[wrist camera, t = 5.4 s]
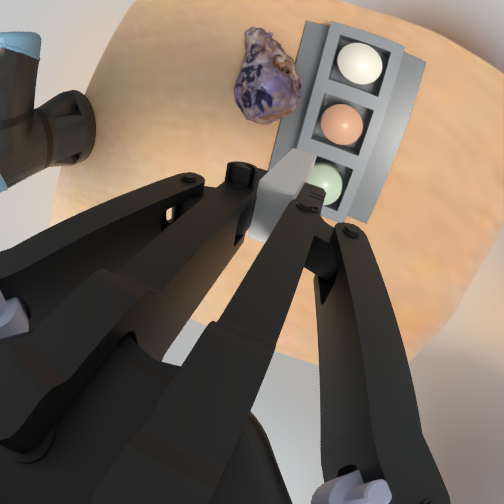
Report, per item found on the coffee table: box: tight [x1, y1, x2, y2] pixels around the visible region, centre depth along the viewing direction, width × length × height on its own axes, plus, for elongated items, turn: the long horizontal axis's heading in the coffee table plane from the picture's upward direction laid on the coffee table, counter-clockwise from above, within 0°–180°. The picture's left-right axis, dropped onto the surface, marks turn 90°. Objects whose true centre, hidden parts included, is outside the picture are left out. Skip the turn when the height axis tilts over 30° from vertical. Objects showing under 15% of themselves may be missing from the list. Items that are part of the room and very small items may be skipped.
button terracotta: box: [321, 104, 363, 145], centre depth 27 cm, size 4×4×2 cm
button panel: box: [268, 21, 426, 224], centre depth 27 cm, size 14×22×4 cm, turn 168°
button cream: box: [337, 43, 382, 85], centre depth 22 cm, size 4×4×2 cm
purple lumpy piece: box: [234, 27, 302, 124], centre depth 26 cm, size 12×8×6 cm, turn 5°
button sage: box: [309, 161, 343, 205], centre depth 30 cm, size 4×4×2 cm
